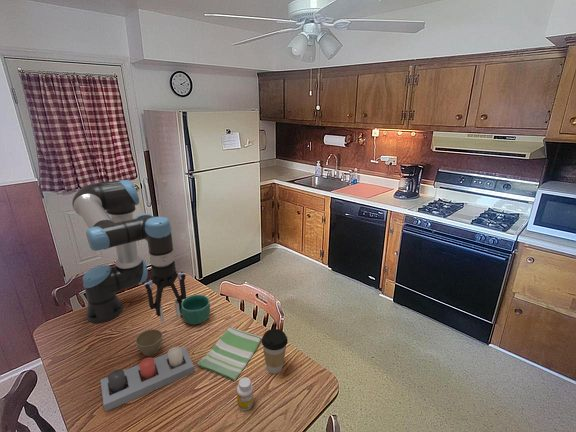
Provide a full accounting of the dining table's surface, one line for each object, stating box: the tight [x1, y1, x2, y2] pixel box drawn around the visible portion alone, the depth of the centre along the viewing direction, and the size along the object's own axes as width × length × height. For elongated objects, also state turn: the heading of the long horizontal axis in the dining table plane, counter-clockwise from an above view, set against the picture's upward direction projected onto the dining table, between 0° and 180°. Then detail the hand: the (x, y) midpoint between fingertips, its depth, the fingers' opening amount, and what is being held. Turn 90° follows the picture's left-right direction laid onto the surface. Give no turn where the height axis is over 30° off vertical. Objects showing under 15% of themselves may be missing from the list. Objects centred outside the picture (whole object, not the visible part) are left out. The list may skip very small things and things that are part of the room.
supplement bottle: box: [236, 377, 254, 411], centre depth 105 cm, size 5×5×10 cm
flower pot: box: [135, 328, 163, 357], centre depth 127 cm, size 10×10×7 cm
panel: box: [100, 346, 196, 412], centre depth 115 cm, size 12×30×3 cm, turn 124°
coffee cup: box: [261, 328, 288, 375], centre depth 119 cm, size 10×10×15 cm
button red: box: [138, 357, 157, 381], centre depth 114 cm, size 5×5×6 cm
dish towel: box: [196, 326, 263, 382], centre depth 128 cm, size 18×23×3 cm
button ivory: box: [167, 346, 184, 369], centre depth 119 cm, size 5×5×6 cm
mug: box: [179, 294, 211, 325], centre depth 147 cm, size 17×13×10 cm
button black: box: [107, 368, 128, 395], centre depth 109 cm, size 5×5×6 cm
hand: (170, 318), depth 113 cm, fingers open, 5 cm apart
